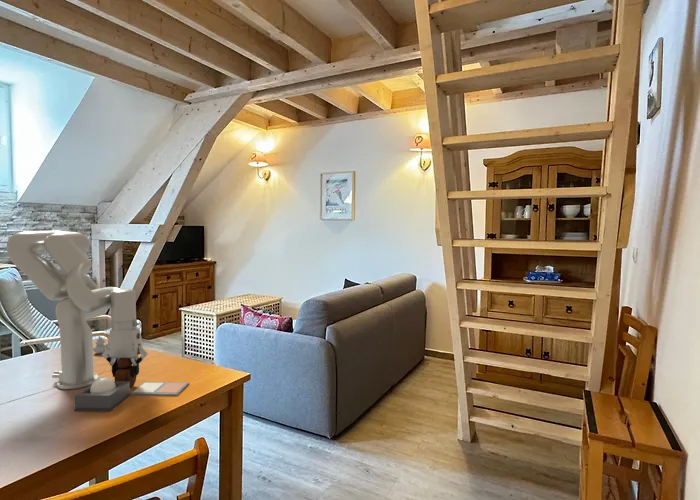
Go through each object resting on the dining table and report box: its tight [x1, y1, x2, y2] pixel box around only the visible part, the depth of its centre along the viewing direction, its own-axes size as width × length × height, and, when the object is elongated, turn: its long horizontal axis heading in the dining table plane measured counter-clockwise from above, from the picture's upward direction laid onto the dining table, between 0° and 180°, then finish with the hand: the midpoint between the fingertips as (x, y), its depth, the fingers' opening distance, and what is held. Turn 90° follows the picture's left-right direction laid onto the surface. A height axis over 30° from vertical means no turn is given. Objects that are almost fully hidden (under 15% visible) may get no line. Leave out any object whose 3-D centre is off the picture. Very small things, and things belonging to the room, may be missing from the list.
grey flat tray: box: [130, 381, 190, 397], centre depth 141 cm, size 16×10×1 cm, turn 89°
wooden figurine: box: [114, 358, 137, 389], centre depth 142 cm, size 7×6×15 cm
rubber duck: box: [93, 335, 108, 355], centre depth 179 cm, size 5×7×8 cm
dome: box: [90, 376, 116, 393], centre depth 130 cm, size 7×7×7 cm
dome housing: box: [73, 380, 131, 412], centre depth 130 cm, size 11×11×5 cm
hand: (125, 375), depth 142 cm, fingers closed on wooden figurine, 6 cm apart
